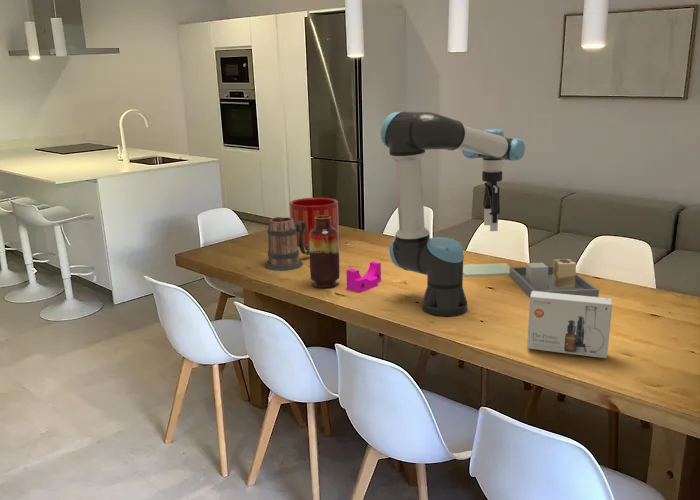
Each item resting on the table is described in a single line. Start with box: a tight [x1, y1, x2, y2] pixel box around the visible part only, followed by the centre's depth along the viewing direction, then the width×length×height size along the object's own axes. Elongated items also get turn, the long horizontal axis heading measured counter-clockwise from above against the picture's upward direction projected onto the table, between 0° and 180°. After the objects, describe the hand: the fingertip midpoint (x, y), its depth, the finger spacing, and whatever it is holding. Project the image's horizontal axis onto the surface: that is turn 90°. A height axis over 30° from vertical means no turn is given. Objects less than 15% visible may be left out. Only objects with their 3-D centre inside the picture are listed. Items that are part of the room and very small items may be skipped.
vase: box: [308, 215, 341, 289], centre depth 235 cm, size 11×11×26 cm
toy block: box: [345, 261, 382, 294], centre depth 235 cm, size 15×6×8 cm, turn 136°
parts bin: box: [508, 265, 600, 298], centre depth 228 cm, size 30×22×4 cm
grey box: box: [525, 262, 548, 289], centre depth 227 cm, size 6×6×8 cm
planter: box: [288, 197, 340, 248], centre depth 300 cm, size 23×23×20 cm
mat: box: [463, 262, 511, 278], centre depth 250 cm, size 14×20×1 cm
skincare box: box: [526, 291, 613, 359], centre depth 173 cm, size 21×6×16 cm, turn 69°
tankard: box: [264, 216, 310, 272], centre depth 265 cm, size 24×17×20 cm
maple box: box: [552, 258, 577, 288], centre depth 227 cm, size 6×6×9 cm
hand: (490, 227), depth 245 cm, fingers open, 10 cm apart
